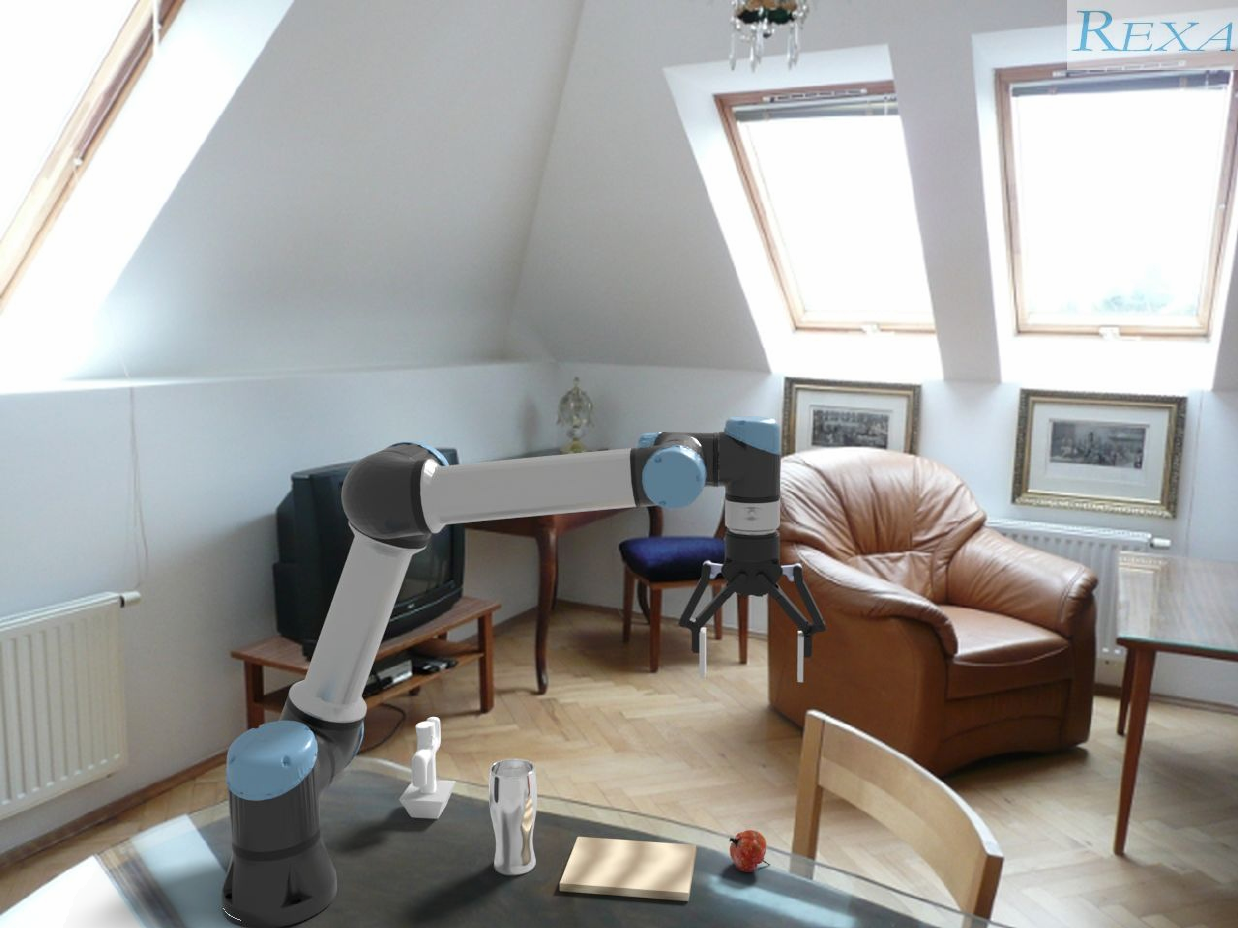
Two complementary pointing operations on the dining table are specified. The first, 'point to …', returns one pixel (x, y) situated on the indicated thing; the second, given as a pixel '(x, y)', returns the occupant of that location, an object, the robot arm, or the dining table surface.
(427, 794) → the figurine
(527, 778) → the beer glass
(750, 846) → the pomegranate
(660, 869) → the birch board
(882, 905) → the dining table surface
